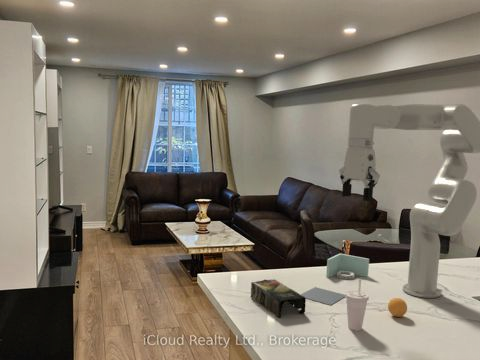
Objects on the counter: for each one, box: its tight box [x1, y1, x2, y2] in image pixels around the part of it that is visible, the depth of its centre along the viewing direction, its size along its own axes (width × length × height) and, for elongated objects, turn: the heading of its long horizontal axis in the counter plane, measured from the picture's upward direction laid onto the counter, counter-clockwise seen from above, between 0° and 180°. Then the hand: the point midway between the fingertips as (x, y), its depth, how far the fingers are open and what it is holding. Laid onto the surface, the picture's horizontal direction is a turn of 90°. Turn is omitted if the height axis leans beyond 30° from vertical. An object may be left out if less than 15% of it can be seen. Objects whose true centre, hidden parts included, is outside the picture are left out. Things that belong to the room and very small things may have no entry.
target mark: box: [299, 286, 346, 306], centre depth 157 cm, size 12×12×1 cm
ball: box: [387, 297, 408, 318], centre depth 141 cm, size 6×6×6 cm
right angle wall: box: [325, 253, 370, 280], centre depth 179 cm, size 12×12×8 cm
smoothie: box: [344, 279, 370, 332], centre depth 131 cm, size 6×6×14 cm
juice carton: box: [250, 278, 307, 319], centre depth 147 cm, size 20×10×6 cm, turn 25°
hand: (356, 198), depth 148 cm, fingers open, 9 cm apart
